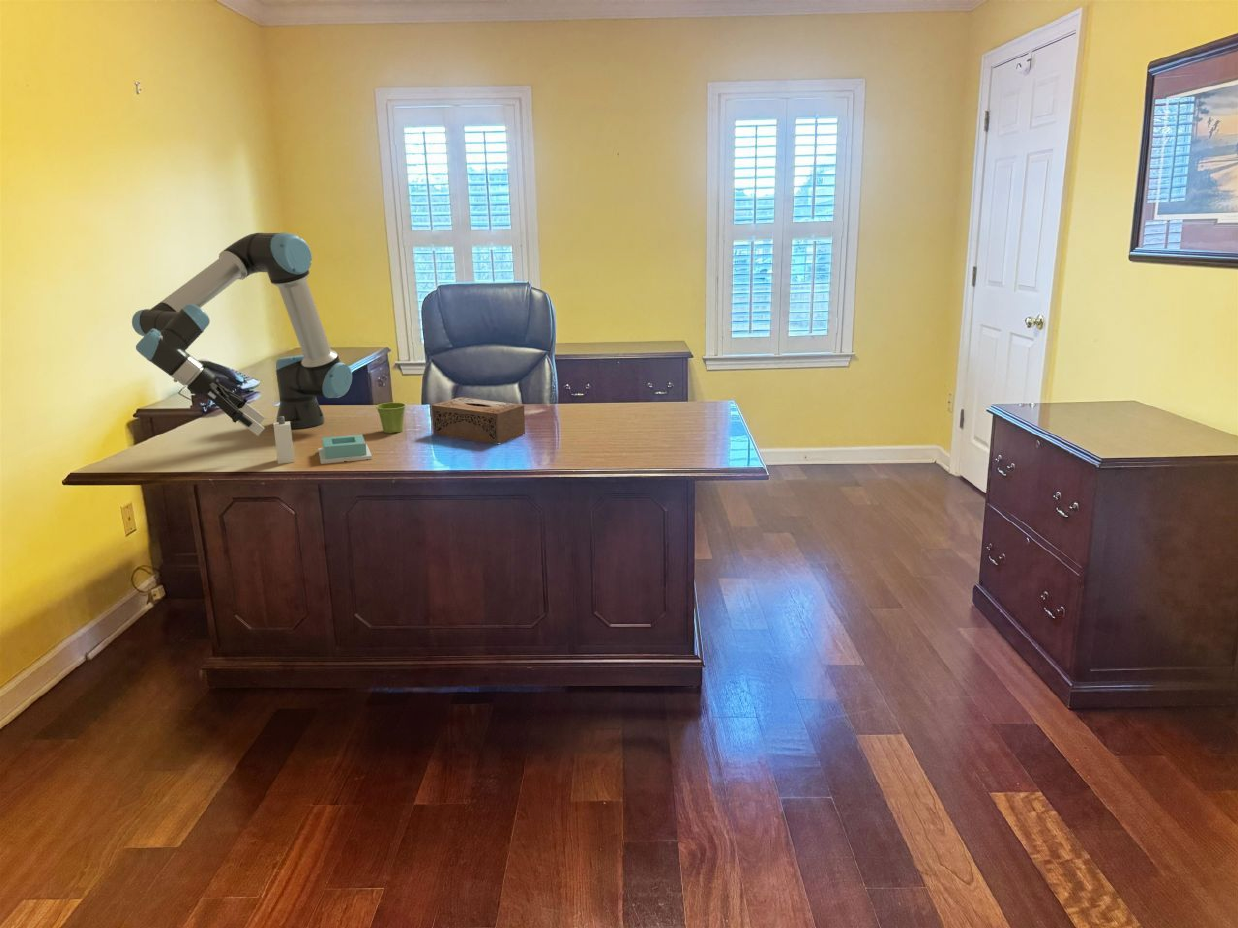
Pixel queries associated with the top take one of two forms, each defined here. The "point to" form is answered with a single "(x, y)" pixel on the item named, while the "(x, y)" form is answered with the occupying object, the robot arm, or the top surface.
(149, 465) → the top surface
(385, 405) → the plant pot
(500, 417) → the tissue box cover
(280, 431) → the plug
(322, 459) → the socket
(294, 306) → the robot arm
